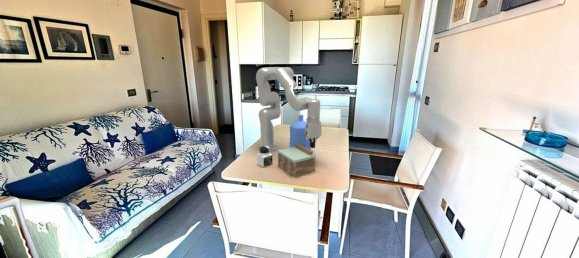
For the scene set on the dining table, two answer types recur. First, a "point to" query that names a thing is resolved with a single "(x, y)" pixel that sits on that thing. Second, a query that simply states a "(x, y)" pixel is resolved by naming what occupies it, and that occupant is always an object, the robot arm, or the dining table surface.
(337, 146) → the dining table surface
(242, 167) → the dining table surface
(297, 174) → the wooden box
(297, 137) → the water jug
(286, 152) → the lid
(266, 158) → the medicine bottle
